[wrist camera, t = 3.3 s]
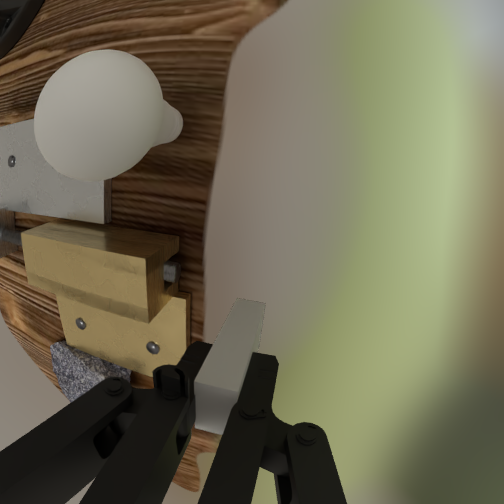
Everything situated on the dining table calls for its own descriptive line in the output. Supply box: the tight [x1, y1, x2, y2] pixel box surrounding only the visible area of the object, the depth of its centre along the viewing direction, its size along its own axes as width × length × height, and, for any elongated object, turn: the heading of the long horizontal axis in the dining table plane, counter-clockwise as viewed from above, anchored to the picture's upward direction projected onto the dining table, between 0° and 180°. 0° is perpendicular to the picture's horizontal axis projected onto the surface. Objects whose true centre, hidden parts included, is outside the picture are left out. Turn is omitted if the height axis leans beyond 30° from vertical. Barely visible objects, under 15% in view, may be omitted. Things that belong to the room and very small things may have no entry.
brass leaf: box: [21, 218, 191, 377], centre depth 21 cm, size 13×14×5 cm
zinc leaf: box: [0, 119, 181, 283], centre depth 19 cm, size 14×24×5 cm, turn 84°
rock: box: [50, 341, 131, 402], centre depth 26 cm, size 12×5×10 cm
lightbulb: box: [34, 49, 183, 182], centre depth 13 cm, size 6×6×11 cm
